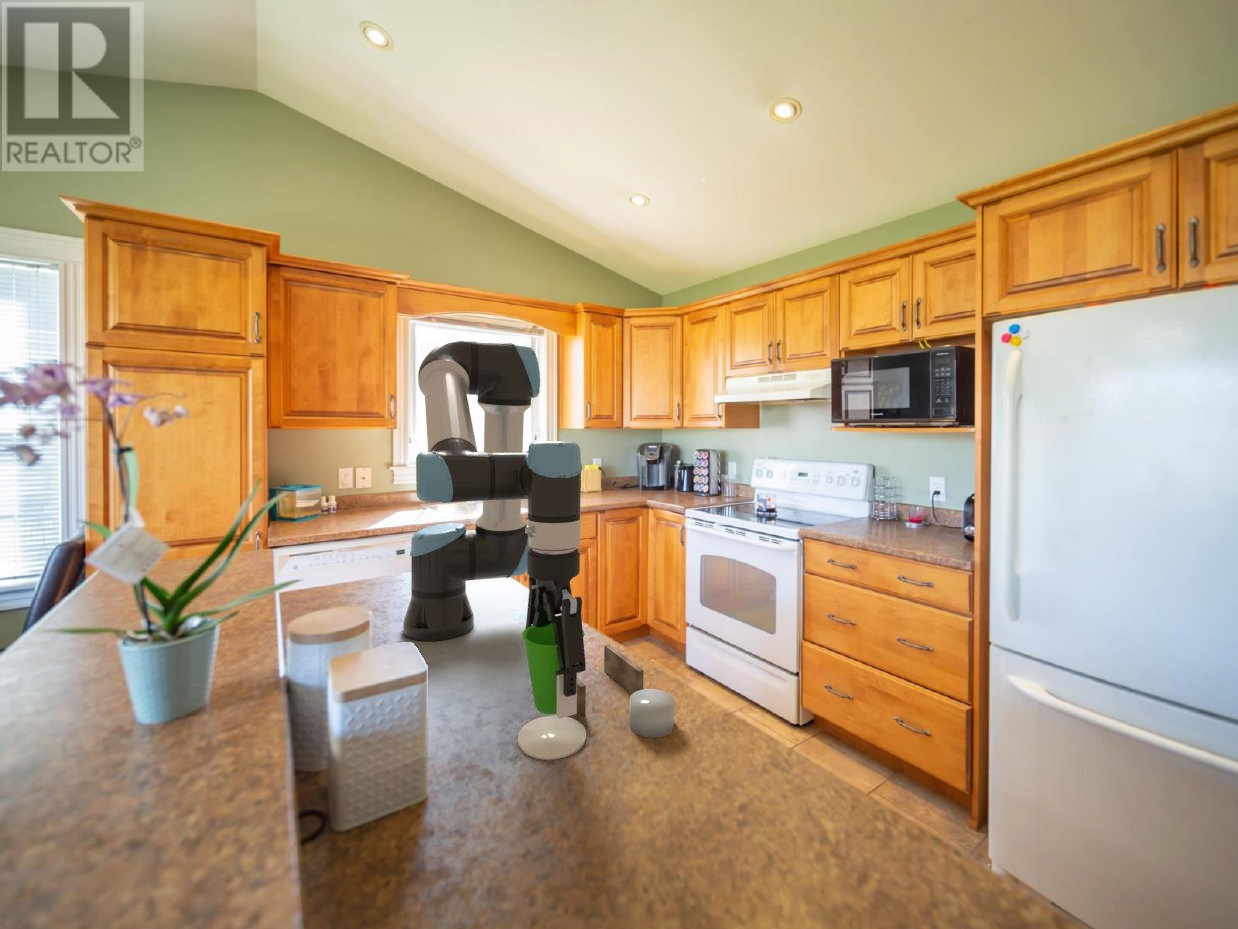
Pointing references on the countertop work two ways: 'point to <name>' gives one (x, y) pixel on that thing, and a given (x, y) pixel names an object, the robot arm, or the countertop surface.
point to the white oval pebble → (551, 737)
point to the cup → (543, 666)
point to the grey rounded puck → (651, 713)
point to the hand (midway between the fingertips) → (552, 699)
